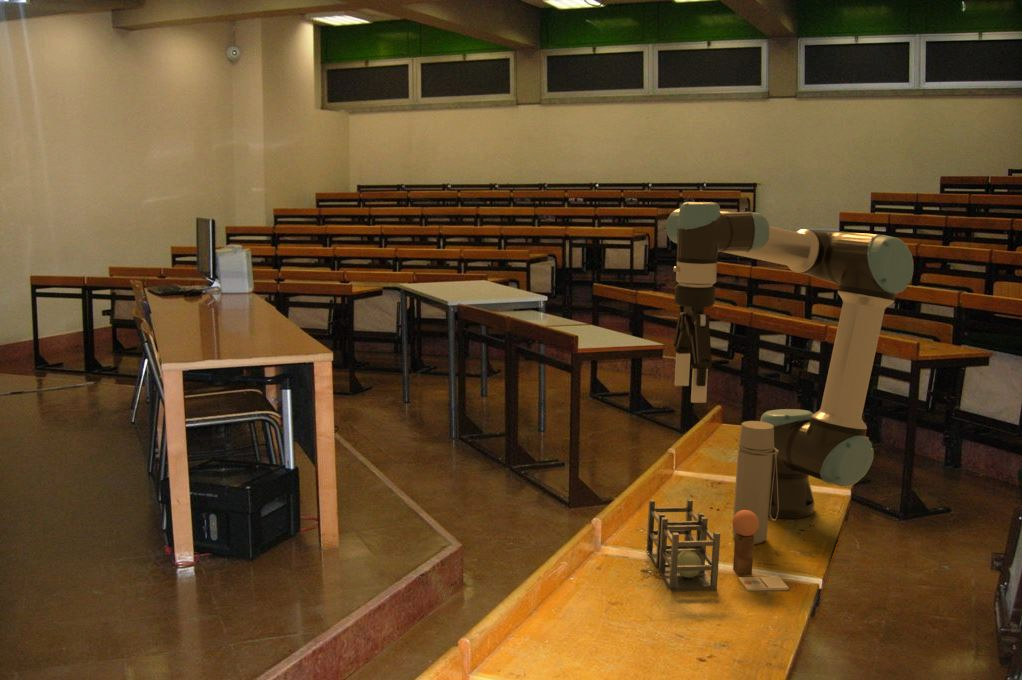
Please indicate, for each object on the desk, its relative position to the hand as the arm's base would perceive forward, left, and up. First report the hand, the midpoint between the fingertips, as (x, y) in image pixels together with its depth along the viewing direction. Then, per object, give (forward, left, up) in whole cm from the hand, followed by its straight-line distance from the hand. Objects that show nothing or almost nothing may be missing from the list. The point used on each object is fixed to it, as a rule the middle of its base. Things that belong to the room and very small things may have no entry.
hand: (689, 393), depth 189 cm
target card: (-13, +12, -34) cm, 38 cm away
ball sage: (+1, +10, -31) cm, 32 cm away
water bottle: (-19, -10, -34) cm, 40 cm away
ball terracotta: (-11, +6, -24) cm, 27 cm away
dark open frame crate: (+1, +10, -34) cm, 35 cm away
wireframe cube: (+1, 0, -34) cm, 34 cm away
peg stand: (-11, +6, -34) cm, 36 cm away
